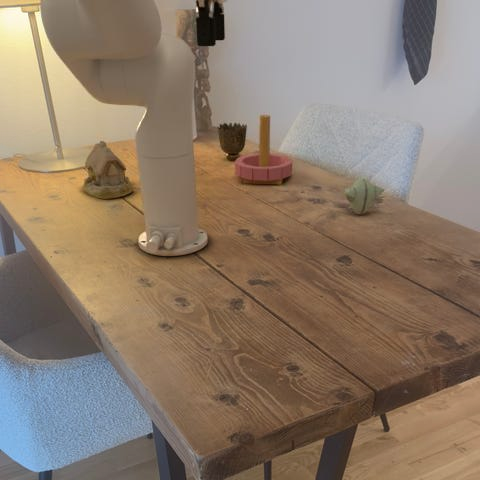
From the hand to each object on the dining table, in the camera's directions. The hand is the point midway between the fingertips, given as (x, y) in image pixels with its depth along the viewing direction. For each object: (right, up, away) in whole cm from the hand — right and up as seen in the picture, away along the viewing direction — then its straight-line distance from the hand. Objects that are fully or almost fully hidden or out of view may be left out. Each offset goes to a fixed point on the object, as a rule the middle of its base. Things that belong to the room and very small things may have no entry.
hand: (211, 42), depth 103 cm
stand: (+11, -11, +31) cm, 34 cm away
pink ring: (+11, -10, +30) cm, 34 cm away
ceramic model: (-24, -16, +26) cm, 39 cm away
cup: (+3, 0, +44) cm, 44 cm away
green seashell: (+29, -27, +11) cm, 42 cm away
